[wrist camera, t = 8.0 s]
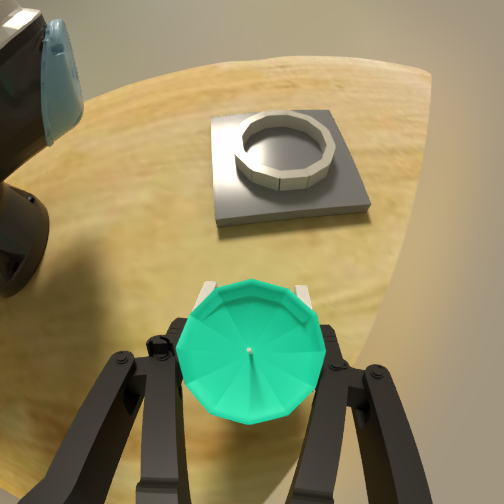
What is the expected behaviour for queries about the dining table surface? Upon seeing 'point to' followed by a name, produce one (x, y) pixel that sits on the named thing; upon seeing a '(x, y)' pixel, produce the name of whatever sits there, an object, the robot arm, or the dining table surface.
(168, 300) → the dining table surface
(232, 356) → the candle
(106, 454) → the robot arm
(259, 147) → the candle stand
